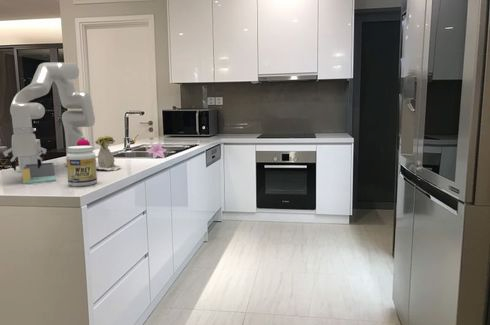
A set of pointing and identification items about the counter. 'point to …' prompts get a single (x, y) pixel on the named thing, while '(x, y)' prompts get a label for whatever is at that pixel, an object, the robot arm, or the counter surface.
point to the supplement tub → (81, 166)
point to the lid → (37, 179)
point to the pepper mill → (83, 142)
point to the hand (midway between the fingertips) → (27, 168)
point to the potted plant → (105, 154)
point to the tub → (41, 170)
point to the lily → (157, 150)
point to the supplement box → (29, 158)
